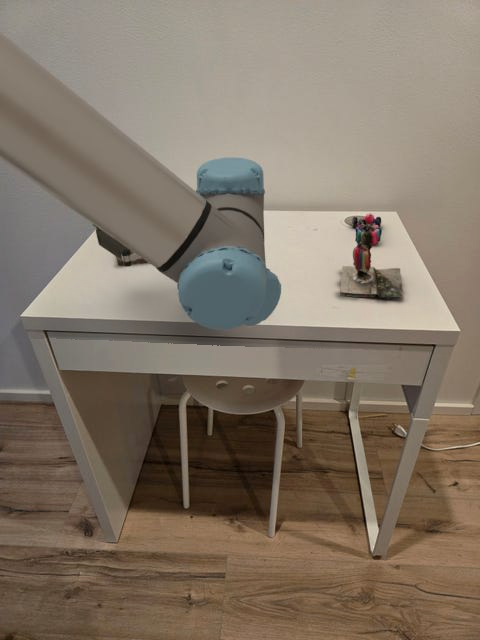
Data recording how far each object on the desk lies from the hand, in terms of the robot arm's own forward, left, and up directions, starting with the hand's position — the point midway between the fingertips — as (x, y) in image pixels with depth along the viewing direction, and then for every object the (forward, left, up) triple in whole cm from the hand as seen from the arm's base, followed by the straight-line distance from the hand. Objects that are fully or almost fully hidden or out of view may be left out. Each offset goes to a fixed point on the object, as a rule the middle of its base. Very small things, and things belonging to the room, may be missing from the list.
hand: (107, 212), depth 76 cm
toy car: (+56, +10, -15) cm, 59 cm away
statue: (+47, -11, -15) cm, 50 cm away
